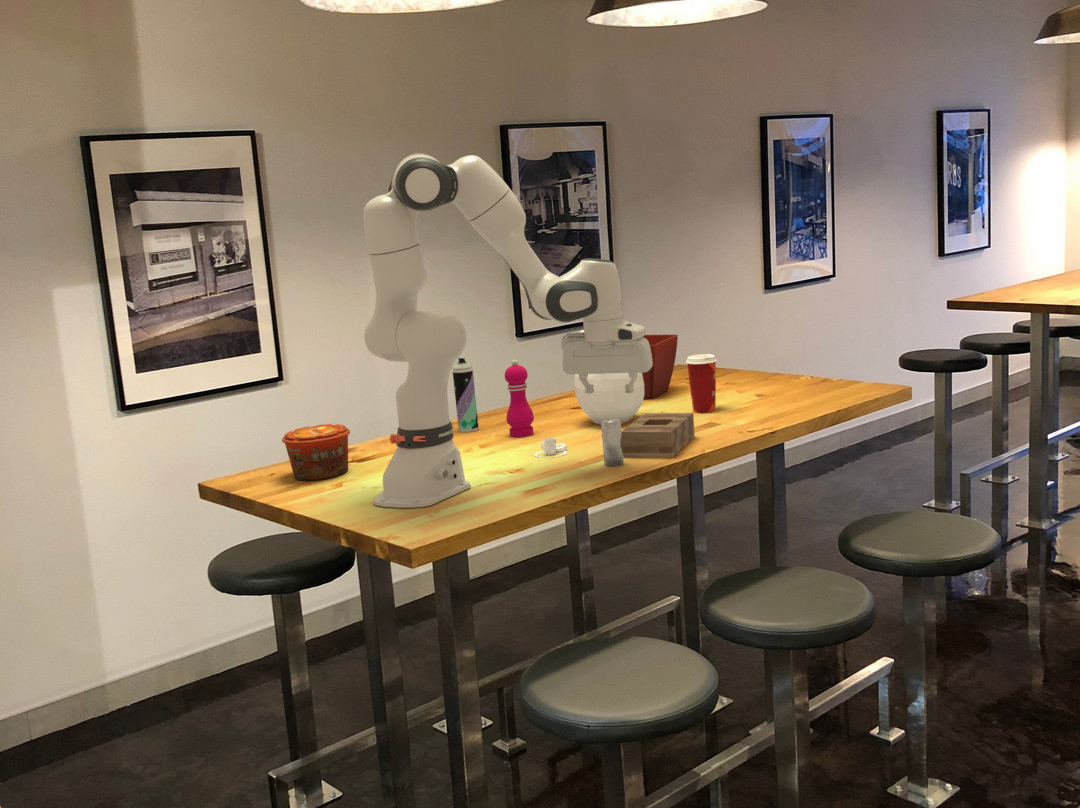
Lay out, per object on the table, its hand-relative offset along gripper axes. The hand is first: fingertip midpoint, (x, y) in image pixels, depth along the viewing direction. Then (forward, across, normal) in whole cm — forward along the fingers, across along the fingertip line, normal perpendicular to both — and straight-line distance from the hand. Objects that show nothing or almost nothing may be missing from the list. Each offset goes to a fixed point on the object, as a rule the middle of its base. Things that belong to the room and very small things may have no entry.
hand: (609, 392), depth 236 cm
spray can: (+17, -53, +32) cm, 65 cm away
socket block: (+17, +6, +16) cm, 24 cm away
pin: (+16, 0, 0) cm, 16 cm away
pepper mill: (+17, -35, +28) cm, 48 cm away
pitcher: (+17, -15, +43) cm, 48 cm away
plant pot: (+18, -18, +79) cm, 83 cm away
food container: (+16, -70, -14) cm, 73 cm away
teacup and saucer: (+17, -16, +9) cm, 25 cm away
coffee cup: (+18, +7, +56) cm, 59 cm away
